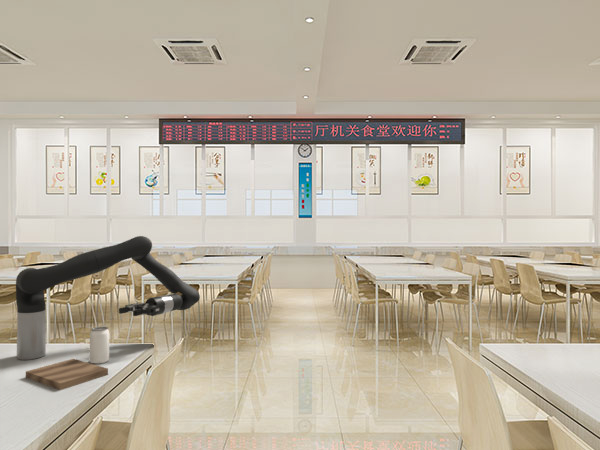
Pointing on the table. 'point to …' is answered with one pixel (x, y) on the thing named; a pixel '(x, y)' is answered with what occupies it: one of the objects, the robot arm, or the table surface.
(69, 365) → the serving board
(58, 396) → the table surface
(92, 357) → the can
